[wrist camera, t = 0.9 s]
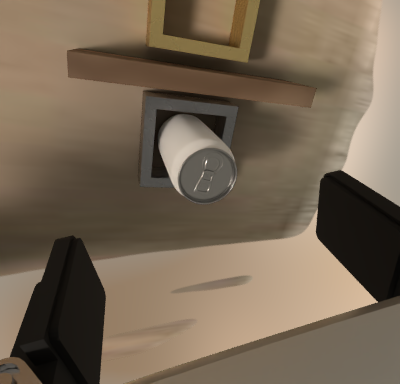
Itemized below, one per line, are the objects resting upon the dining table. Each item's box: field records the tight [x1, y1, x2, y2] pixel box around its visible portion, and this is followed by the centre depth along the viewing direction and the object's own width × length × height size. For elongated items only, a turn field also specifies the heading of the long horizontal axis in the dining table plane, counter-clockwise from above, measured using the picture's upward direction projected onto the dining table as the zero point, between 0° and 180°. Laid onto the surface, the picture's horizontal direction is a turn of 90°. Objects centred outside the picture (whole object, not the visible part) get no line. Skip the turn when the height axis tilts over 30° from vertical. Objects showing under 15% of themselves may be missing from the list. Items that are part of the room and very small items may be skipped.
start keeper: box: [138, 91, 238, 188], centre depth 35 cm, size 10×10×4 cm
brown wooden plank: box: [67, 49, 317, 108], centre depth 30 cm, size 2×24×7 cm, turn 81°
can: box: [157, 114, 237, 204], centre depth 31 cm, size 6×6×12 cm
